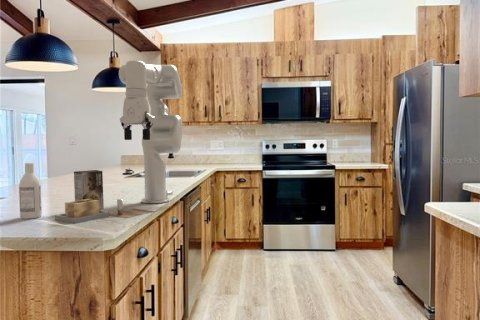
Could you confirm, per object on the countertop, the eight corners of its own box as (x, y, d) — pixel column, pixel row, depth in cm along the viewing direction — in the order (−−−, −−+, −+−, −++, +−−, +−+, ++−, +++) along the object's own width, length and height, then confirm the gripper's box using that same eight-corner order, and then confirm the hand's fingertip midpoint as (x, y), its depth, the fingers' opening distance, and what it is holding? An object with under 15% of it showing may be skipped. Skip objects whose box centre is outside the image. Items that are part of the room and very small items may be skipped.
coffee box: (95, 208, 158) (94, 169, 157) (104, 210, 154) (103, 170, 153) (74, 211, 151) (73, 171, 150) (82, 213, 147) (81, 171, 146)
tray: (88, 214, 145) (88, 209, 145) (109, 217, 139) (108, 212, 139) (54, 221, 133) (54, 215, 133) (75, 225, 127) (75, 218, 127)
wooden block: (77, 221, 130) (76, 204, 130) (65, 219, 134) (64, 202, 133) (99, 216, 138) (99, 200, 138) (87, 215, 142) (87, 199, 141)
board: (134, 210, 154) (134, 208, 154) (156, 212, 148) (156, 211, 148) (103, 216, 141) (103, 214, 141) (126, 219, 135) (126, 218, 135)
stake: (120, 215, 143) (120, 199, 143) (124, 216, 142) (124, 199, 142) (116, 216, 142) (116, 199, 141) (120, 216, 141) (119, 200, 140)
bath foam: (33, 214, 145) (31, 162, 144) (45, 216, 142) (44, 162, 141) (15, 218, 139) (14, 163, 138) (28, 219, 136) (27, 163, 135)
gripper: (112, 95, 146) (113, 140, 147) (145, 91, 137) (146, 139, 138) (127, 96, 152) (128, 139, 153) (160, 94, 143) (160, 139, 144)
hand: (137, 139), depth 145 cm, fingers open, 9 cm apart
